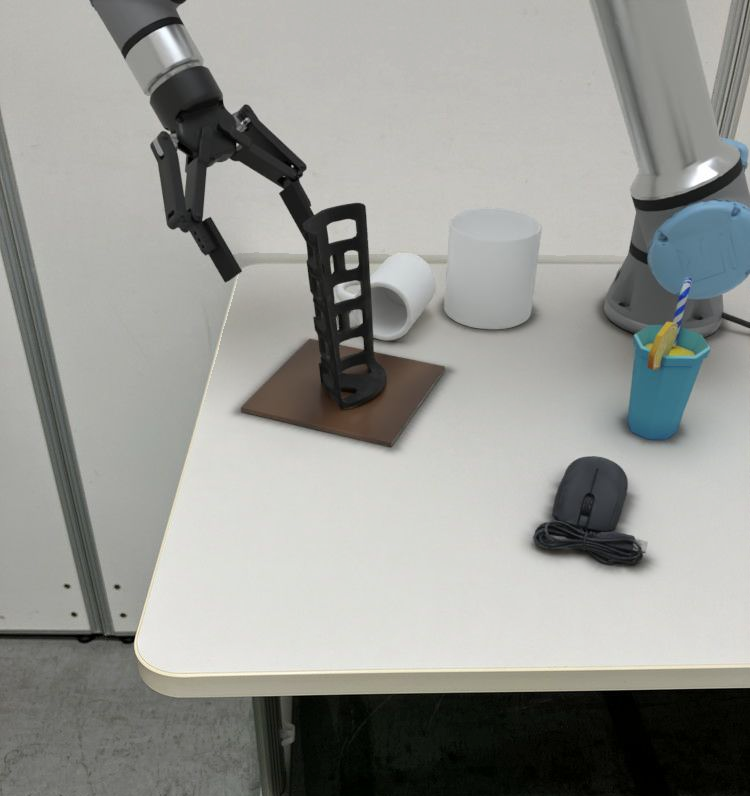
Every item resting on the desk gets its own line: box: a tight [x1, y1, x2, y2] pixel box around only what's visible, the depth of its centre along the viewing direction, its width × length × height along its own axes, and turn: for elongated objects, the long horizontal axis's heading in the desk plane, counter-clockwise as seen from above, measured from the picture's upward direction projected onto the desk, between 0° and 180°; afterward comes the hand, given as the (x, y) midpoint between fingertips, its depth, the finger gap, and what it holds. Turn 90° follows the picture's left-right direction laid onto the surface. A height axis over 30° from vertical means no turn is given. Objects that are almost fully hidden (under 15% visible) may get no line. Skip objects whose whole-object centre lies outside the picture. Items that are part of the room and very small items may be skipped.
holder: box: [303, 202, 387, 409], centre depth 101 cm, size 11×8×20 cm
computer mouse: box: [532, 455, 649, 566], centre depth 88 cm, size 10×15×4 cm
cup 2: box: [626, 277, 711, 441], centre depth 98 cm, size 14×8×15 cm, turn 158°
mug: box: [335, 252, 437, 341], centre depth 119 cm, size 12×10×8 cm
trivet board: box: [240, 338, 446, 448], centre depth 107 cm, size 18×18×1 cm
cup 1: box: [443, 207, 543, 330], centre depth 121 cm, size 12×12×12 cm
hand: (276, 256), depth 105 cm, fingers open, 13 cm apart
